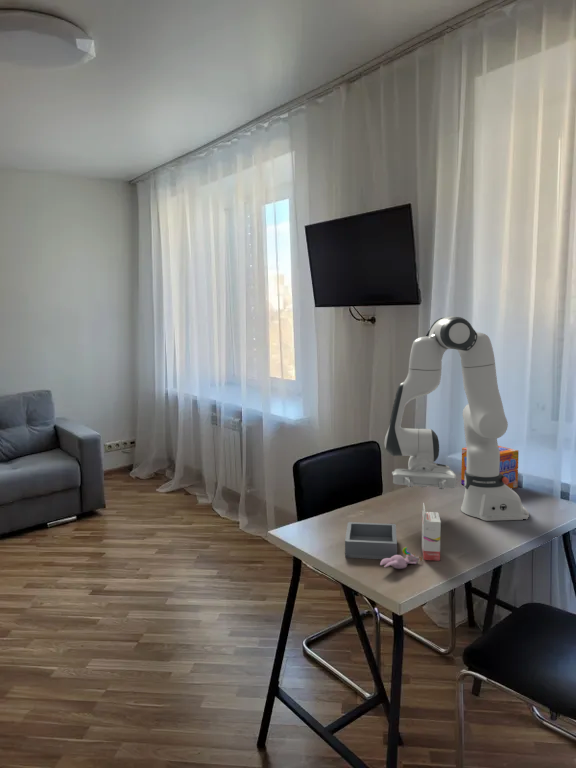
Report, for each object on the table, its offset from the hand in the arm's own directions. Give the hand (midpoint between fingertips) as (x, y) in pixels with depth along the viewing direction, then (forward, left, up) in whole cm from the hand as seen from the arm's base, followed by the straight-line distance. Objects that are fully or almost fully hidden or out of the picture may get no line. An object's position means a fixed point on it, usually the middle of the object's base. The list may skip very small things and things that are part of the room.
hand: (426, 485), depth 173 cm
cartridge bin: (+17, +10, -17) cm, 26 cm away
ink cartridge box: (-1, +12, -17) cm, 21 cm away
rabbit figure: (+9, +22, -17) cm, 29 cm away
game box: (-30, -56, -17) cm, 65 cm away
